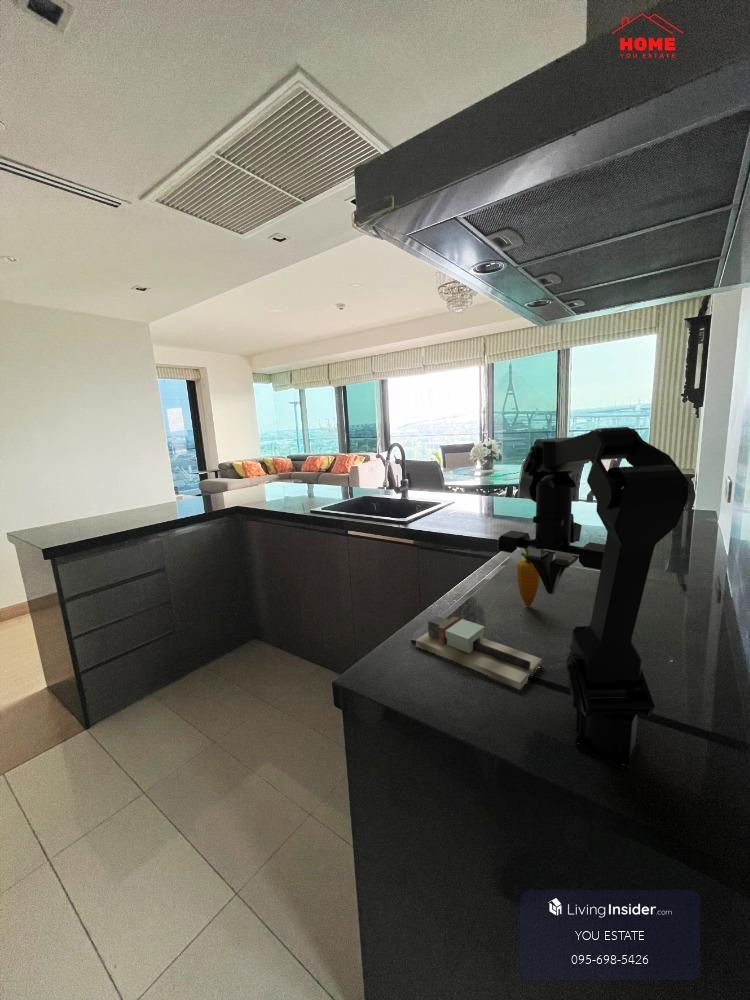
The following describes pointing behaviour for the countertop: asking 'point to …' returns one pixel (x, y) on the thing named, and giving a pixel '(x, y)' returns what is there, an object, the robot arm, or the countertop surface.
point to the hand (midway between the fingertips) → (551, 593)
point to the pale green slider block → (464, 635)
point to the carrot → (527, 579)
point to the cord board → (480, 654)
